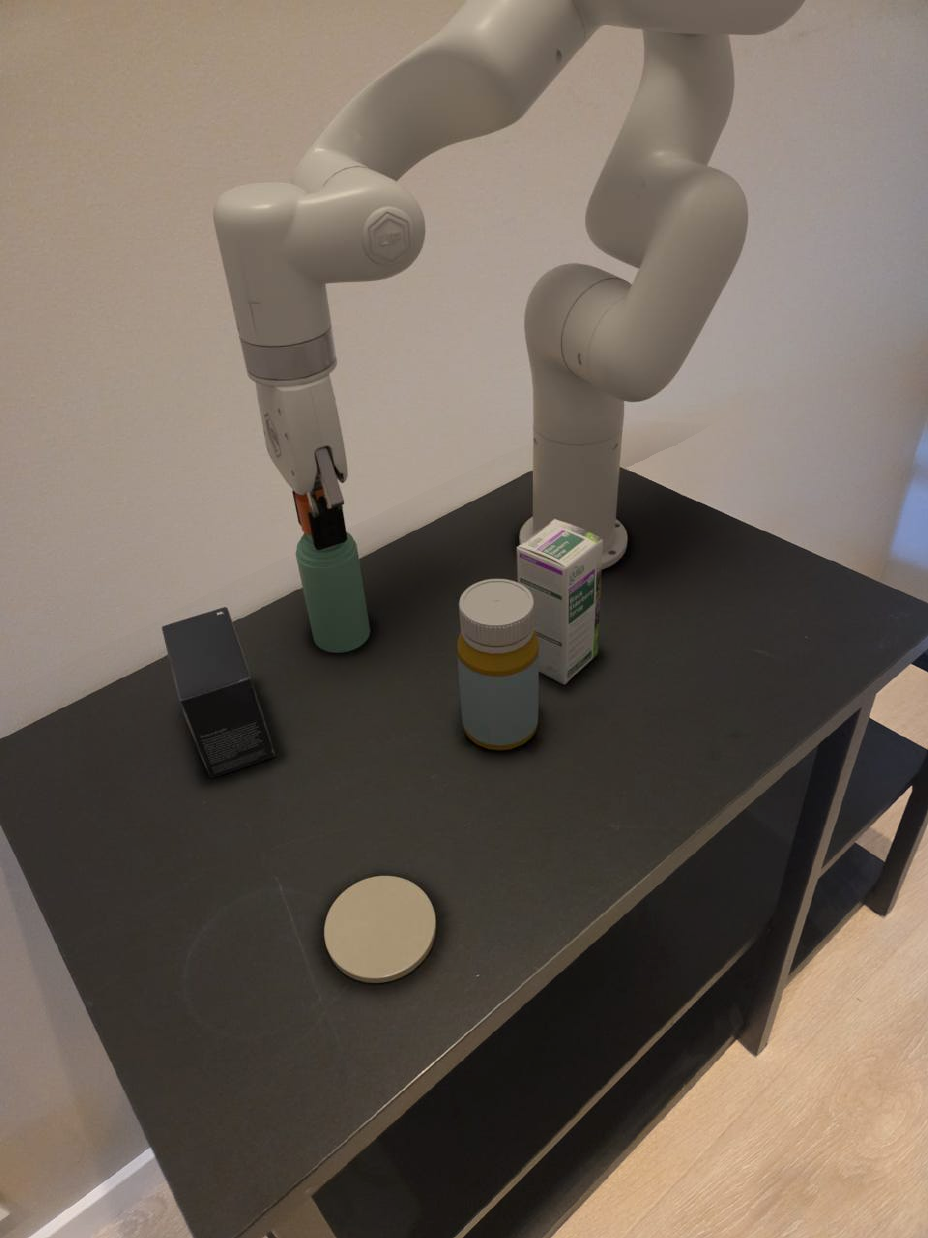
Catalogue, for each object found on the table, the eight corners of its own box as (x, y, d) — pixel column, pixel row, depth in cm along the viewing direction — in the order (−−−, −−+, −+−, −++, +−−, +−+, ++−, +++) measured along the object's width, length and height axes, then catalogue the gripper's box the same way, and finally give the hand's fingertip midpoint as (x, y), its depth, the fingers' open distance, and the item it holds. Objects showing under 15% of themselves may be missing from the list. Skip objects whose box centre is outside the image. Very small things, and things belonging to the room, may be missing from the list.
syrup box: (565, 687, 84) (569, 567, 75) (517, 661, 87) (515, 543, 78) (598, 655, 88) (606, 537, 78) (551, 631, 91) (553, 515, 81)
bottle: (532, 759, 78) (532, 633, 68) (455, 749, 79) (445, 624, 69) (542, 703, 83) (544, 579, 73) (470, 695, 84) (463, 572, 74)
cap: (297, 537, 82) (290, 503, 79) (305, 514, 85) (298, 481, 82) (338, 536, 81) (332, 502, 79) (344, 513, 84) (339, 480, 82)
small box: (187, 704, 85) (157, 623, 78) (252, 684, 87) (228, 603, 80) (206, 781, 77) (175, 699, 71) (278, 757, 79) (254, 675, 72)
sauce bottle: (324, 612, 95) (298, 478, 84) (377, 618, 94) (357, 482, 83) (305, 649, 90) (274, 512, 79) (360, 656, 89) (336, 517, 78)
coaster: (346, 873, 70) (344, 867, 69) (447, 890, 68) (447, 885, 67) (309, 971, 63) (307, 966, 63) (420, 993, 62) (419, 988, 61)
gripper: (218, 327, 76) (260, 504, 88) (276, 400, 65) (315, 592, 77) (299, 309, 79) (329, 483, 91) (369, 376, 67) (393, 566, 79)
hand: (322, 531), depth 84 cm, fingers closed on cap, 3 cm apart
